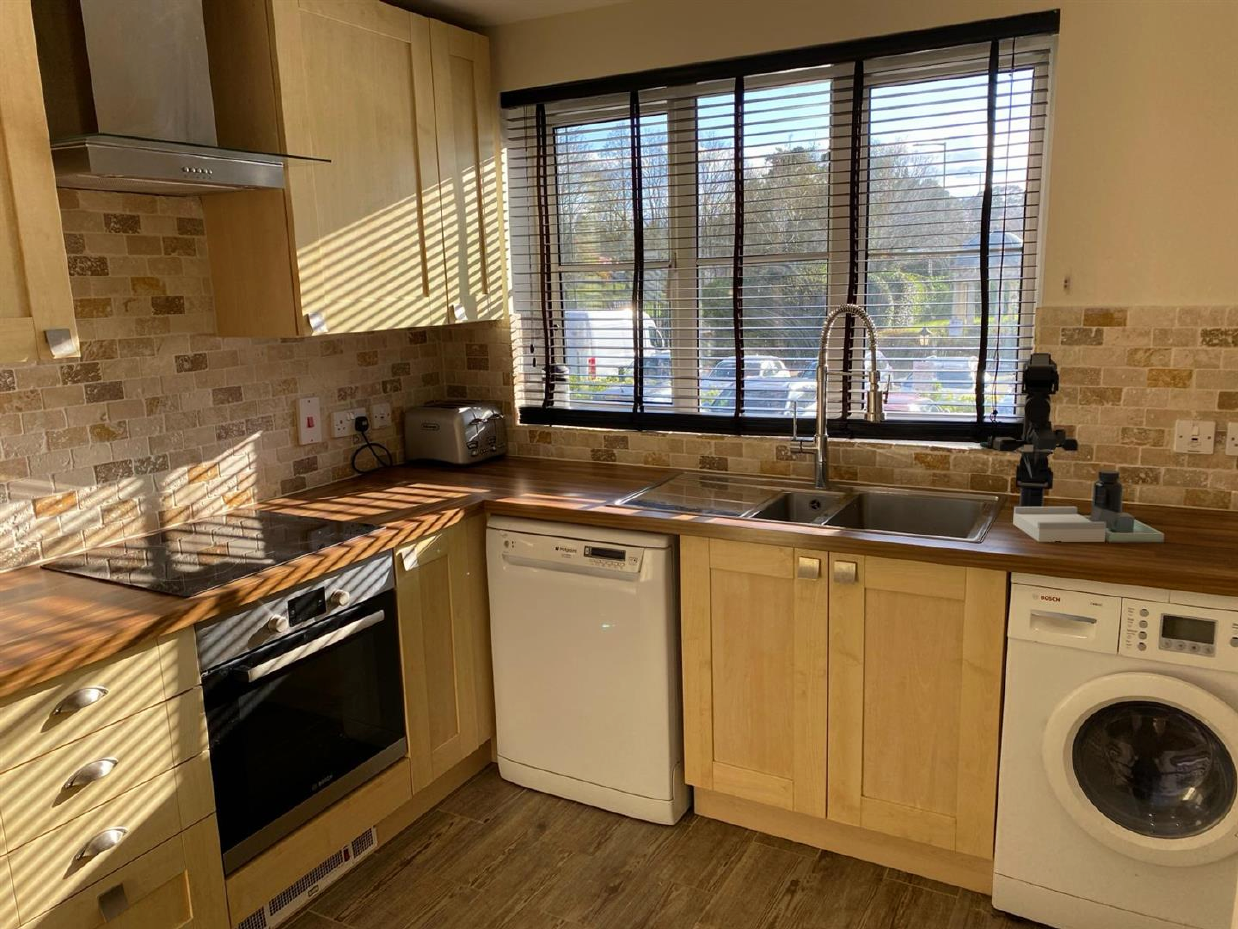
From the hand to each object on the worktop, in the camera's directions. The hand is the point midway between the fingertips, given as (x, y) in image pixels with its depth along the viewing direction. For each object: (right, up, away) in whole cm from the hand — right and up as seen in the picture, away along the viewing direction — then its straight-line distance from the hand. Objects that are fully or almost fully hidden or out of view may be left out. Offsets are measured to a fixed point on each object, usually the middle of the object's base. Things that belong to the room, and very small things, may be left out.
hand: (1033, 477), depth 228 cm
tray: (+18, -13, -7) cm, 23 cm away
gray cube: (+16, -11, -8) cm, 21 cm away
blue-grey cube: (+13, -11, -7) cm, 19 cm away
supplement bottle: (+23, -10, +8) cm, 26 cm away
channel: (+3, -13, -6) cm, 15 cm away
